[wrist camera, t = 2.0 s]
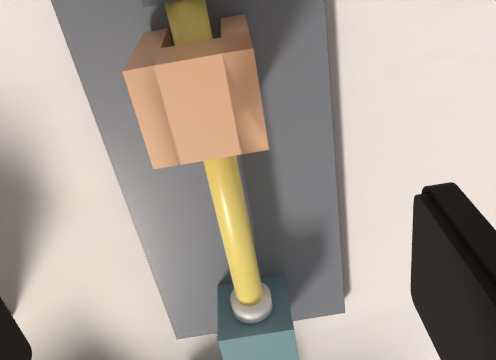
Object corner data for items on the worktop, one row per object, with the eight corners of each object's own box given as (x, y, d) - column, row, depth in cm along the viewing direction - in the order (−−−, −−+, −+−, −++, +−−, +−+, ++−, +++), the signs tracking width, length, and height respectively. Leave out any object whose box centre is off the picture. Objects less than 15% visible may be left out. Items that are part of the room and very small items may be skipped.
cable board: (39, -54, 19) (-15, -41, 15) (313, -106, 19) (343, -109, 14) (178, 327, 33) (171, 397, 28) (341, 302, 32) (362, 367, 28)
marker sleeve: (144, 31, 20) (122, 71, 16) (244, 13, 20) (253, 48, 15) (166, 113, 22) (153, 169, 18) (257, 97, 22) (268, 149, 17)
